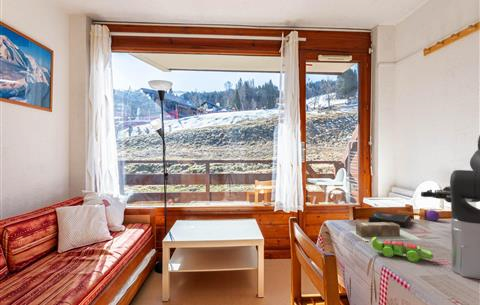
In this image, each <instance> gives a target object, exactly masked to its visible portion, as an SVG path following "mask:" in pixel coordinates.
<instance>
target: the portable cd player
mask: <svg viewBox="0 0 480 305" xmlns="http://www.w3.org/2000/svg"><path fill="white" fill-rule="evenodd" d="M411 217H412V216H409V215H402V214H398V213H393V212H386V211H379V210H378V211H376V212H374V213H373V214H371V215H370V216H369V217H368V222H367V223H376V222H386V223H390V222H393V223H395V224H398V225H400V229H406V228H407V227H408V225H410V223H411V219H412V218H411Z"/></svg>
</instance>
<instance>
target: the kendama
mask: <svg viewBox="0 0 480 305" xmlns="http://www.w3.org/2000/svg"><path fill="white" fill-rule="evenodd" d="M397 214H402V215H409V216H411V217H412V216H418V217H421V218H423V219H425V220H426V219H428V221H431V222H437V221H439V219H440V214H439V212H437V210H433V209H431V210H428V211H423V212H419V213H417V212H412V211H405V210H400V209H397Z"/></svg>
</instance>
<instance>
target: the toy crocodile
mask: <svg viewBox="0 0 480 305" xmlns="http://www.w3.org/2000/svg"><path fill="white" fill-rule="evenodd" d="M392 241H393V240H387V241H384V242H383V241H376V237H374V238H372V240H371V241H370V242H371V245H372V248H373V249H375V250H376V251H378V252H382V254H383V256H384V257H386V256H390V257H389V258H392V257H393V256H394V255H398V256H404V255H405V256H406V259H407V260H408V261H409V262H411V261H415V262H414V263H417V262H419V260H420V259H423V260H432V258H434V254H433V253H432V251H430V250H426V249H423V248H421V247H420V246H419V245H416V244H412V243H405V245H404V242H403V241H399V240H394V243H393V242H392ZM375 250H374V251H375Z"/></svg>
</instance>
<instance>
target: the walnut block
mask: <svg viewBox="0 0 480 305" xmlns="http://www.w3.org/2000/svg"><path fill="white" fill-rule="evenodd" d="M400 230H401V228H400V225H398V224H395V223H393V222H390V223H386V222H376V223H369V222H357V223H356V222H355V231H356V234H357V235H358V236H360V237H397V236H400Z"/></svg>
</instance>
